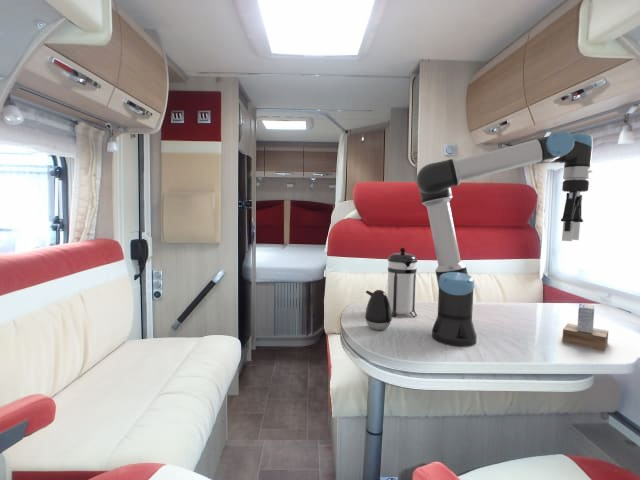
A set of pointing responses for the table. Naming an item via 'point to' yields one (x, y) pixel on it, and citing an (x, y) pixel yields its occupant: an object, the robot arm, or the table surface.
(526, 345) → the table surface
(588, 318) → the medicine box
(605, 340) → the walnut block
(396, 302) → the coffee press
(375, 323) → the pump dispenser
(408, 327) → the table surface
